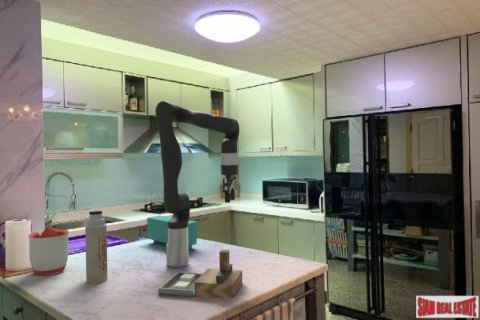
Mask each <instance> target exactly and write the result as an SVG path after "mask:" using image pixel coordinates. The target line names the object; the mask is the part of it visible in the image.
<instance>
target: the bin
mask: <svg viewBox="0 0 480 320" xmlns="http://www.w3.org/2000/svg"><path fill="white" fill-rule="evenodd" d="M203 273H204V272H201V273H200V272H186V271H185V272H184V271H177V272H176V273H174V274H173V275H172V276H171V277H170V278H169V279H167V281H165V282H164V283H162V284H161V285H160V286H159V287H158V289H157V290H158V293H157V294H158V296H162V297H163V296H164V297H177V298H189V299H190V298H191V299H193V298H194V297H196V296H195V283H194V282H195V281H196V280H197V279H198V278H199V277H200V276H201V275H202V274H203ZM184 274H195V280H194V281H193V282H192V283H191V284H190V288H189V289H188V290H187V289H174V285H176V284H177V283H178V282H179V281H180V277H181V276H182V275H184Z"/></svg>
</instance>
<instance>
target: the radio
mask: <svg viewBox="0 0 480 320" xmlns="http://www.w3.org/2000/svg"><path fill="white" fill-rule="evenodd" d="M171 218H172V216H165V215H154V216H148V217H147V218H146V223H147V224H146V225H147V235H148V237H147V238H148V239H149V240H150V241H151V240H152V241H153V244H158V243H164V244H166V245H167V244H168V221H169V220H170V219H171ZM198 224H199V222H198V221H197V220H196V221H194V220H191V219H189V222H188V251H189V250H192V249H193V246H195V245H197V242H198V240H197V239H198Z"/></svg>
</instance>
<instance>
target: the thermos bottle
mask: <svg viewBox="0 0 480 320" xmlns="http://www.w3.org/2000/svg"><path fill="white" fill-rule="evenodd" d="M88 215H89V216H88V218H89V219H87V220H86V223H87V224H86V225H85V228H84V229H85V233H84V234H85V272H86V273H85V279H86V281H85V282H86V283H88V284H101V283H104V282H106V281H107V280H108V277H109V276H108V244H107V243H108V232H107V231H108V230H107V226H108V225H107V224H106V221H105V220H106V219H105V218H103V211H102V210H92V211H91V210H90V211H89V212H88Z"/></svg>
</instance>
